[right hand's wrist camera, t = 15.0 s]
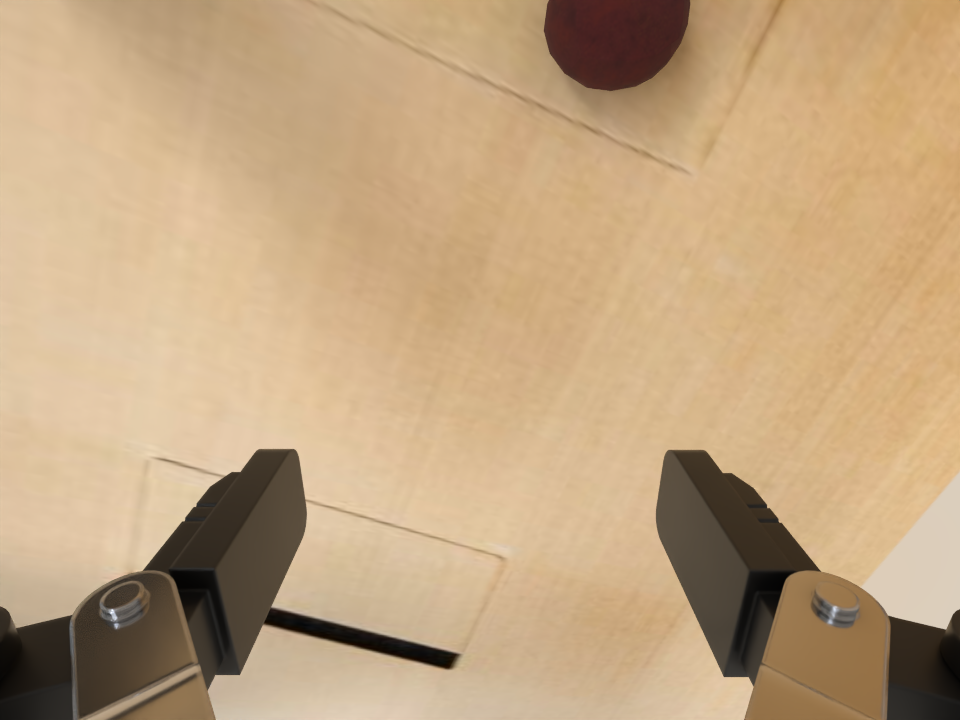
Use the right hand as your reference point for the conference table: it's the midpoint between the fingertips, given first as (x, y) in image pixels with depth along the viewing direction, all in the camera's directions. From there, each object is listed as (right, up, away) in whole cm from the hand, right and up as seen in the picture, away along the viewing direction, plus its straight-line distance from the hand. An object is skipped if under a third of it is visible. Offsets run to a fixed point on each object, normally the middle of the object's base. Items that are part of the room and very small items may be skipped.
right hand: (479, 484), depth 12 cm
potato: (+8, +23, +21) cm, 32 cm away
